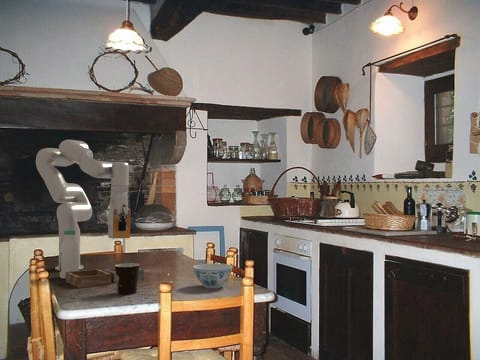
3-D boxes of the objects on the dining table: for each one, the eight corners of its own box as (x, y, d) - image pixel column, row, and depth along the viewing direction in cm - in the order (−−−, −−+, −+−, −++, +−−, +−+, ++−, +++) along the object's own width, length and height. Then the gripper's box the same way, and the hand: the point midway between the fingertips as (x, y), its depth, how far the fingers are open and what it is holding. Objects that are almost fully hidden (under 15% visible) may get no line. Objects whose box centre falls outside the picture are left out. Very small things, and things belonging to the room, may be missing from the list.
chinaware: (207, 281, 200) (207, 262, 201) (239, 285, 193) (239, 265, 193) (185, 288, 188) (185, 267, 188) (218, 292, 180) (218, 270, 180)
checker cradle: (103, 278, 208) (103, 269, 208) (133, 275, 215) (133, 266, 216) (113, 282, 199) (113, 272, 199) (143, 279, 206) (143, 269, 207)
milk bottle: (82, 276, 214) (82, 230, 215) (71, 279, 207) (71, 231, 207) (67, 275, 217) (67, 229, 217) (55, 278, 209) (55, 230, 210)
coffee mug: (116, 290, 183) (117, 263, 183) (140, 290, 183) (140, 263, 184) (111, 297, 171) (111, 268, 171) (136, 297, 172) (136, 268, 172)
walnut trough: (65, 282, 201) (65, 272, 201) (97, 278, 209) (97, 269, 209) (78, 288, 188) (78, 277, 188) (111, 284, 196) (111, 274, 196)
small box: (112, 239, 217) (113, 209, 217) (107, 237, 222) (108, 208, 222) (130, 238, 221) (130, 208, 221) (125, 236, 226) (125, 208, 227)
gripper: (104, 189, 227) (103, 228, 226) (119, 189, 213) (118, 231, 212) (120, 189, 231) (119, 228, 231) (135, 190, 217) (134, 231, 217)
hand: (119, 229), depth 222 cm, fingers closed on small box, 6 cm apart
